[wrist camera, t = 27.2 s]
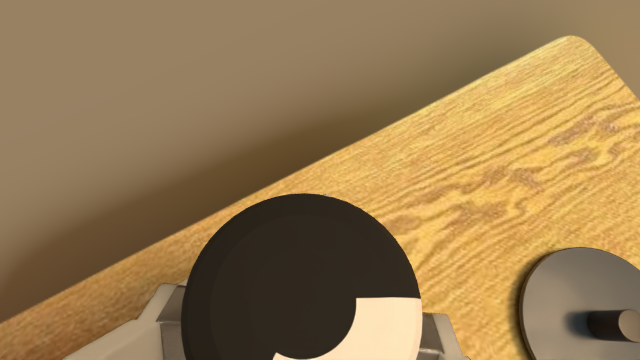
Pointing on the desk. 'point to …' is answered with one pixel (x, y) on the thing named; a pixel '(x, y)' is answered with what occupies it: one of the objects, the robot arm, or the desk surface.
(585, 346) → the pot lid
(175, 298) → the robot arm
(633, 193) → the desk surface
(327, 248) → the medicine bottle
